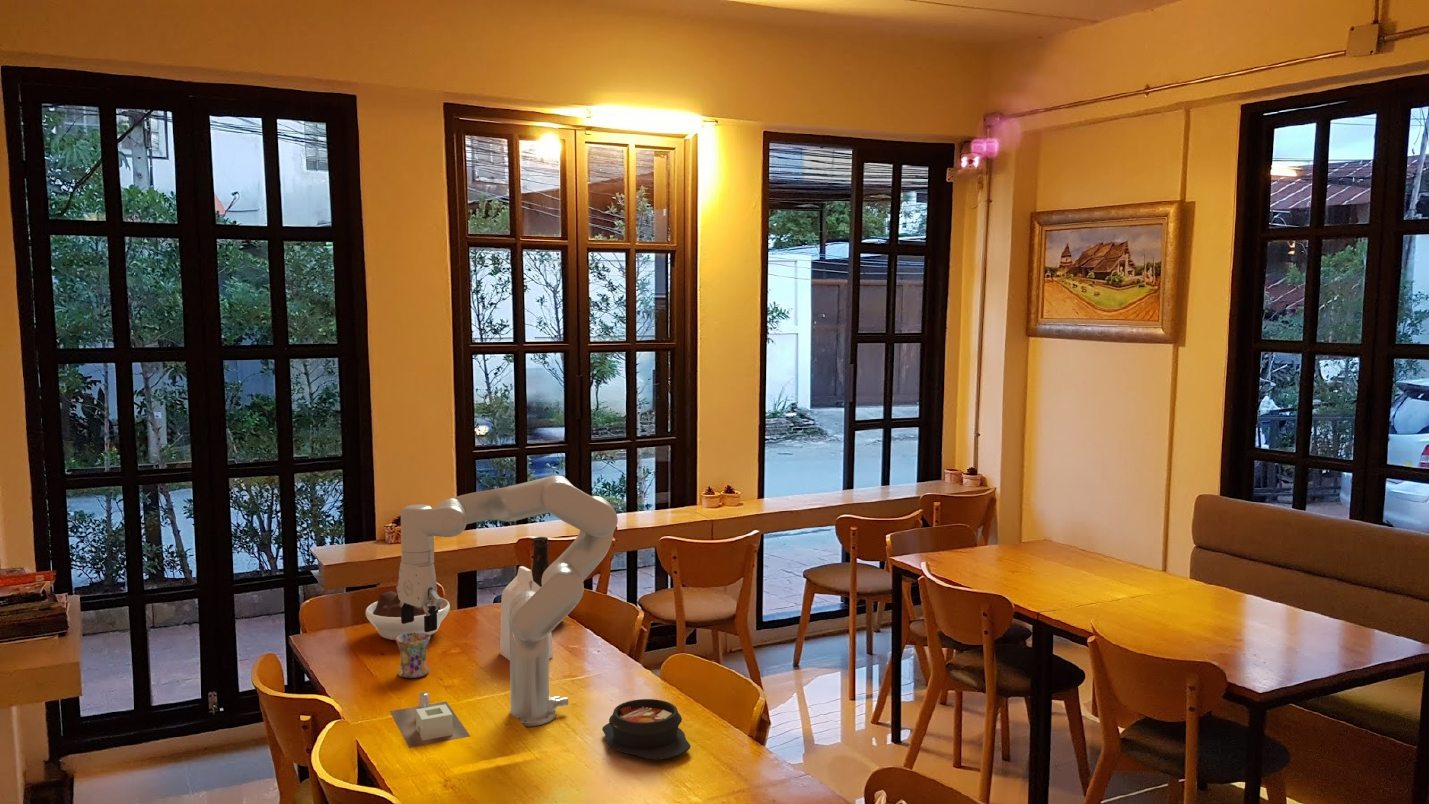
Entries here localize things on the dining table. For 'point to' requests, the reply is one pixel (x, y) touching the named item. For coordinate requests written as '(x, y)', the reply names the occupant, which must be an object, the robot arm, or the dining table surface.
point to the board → (412, 737)
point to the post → (423, 700)
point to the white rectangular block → (434, 722)
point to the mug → (413, 654)
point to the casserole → (646, 729)
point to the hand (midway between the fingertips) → (419, 626)
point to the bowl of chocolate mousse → (399, 616)
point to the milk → (514, 588)
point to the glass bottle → (540, 559)
